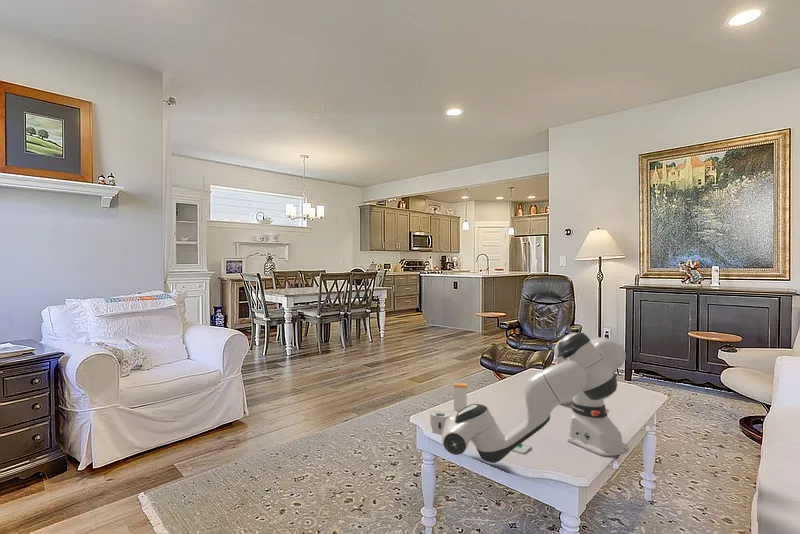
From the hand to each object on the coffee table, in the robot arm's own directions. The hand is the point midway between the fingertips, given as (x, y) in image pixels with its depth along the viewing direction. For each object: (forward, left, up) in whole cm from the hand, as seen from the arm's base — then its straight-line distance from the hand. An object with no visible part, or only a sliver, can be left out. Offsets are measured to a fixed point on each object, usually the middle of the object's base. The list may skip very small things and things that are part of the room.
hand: (458, 412), depth 163 cm
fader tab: (+13, -7, -11) cm, 18 cm away
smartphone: (-8, -17, -12) cm, 23 cm away
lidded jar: (+27, -71, -12) cm, 77 cm away
